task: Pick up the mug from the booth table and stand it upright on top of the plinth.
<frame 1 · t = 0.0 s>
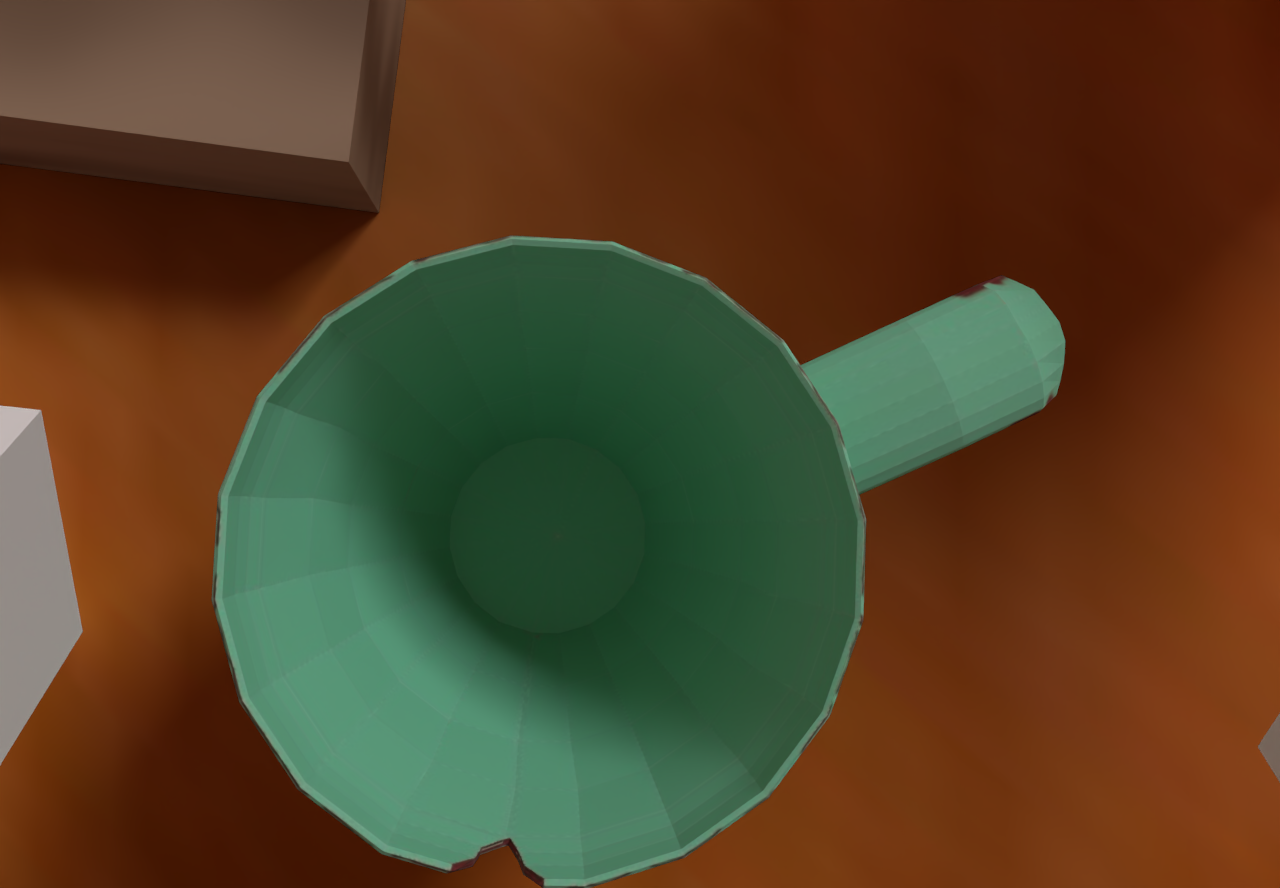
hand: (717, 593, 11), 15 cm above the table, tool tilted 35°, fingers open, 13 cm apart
mug: (638, 492, 27), on the table
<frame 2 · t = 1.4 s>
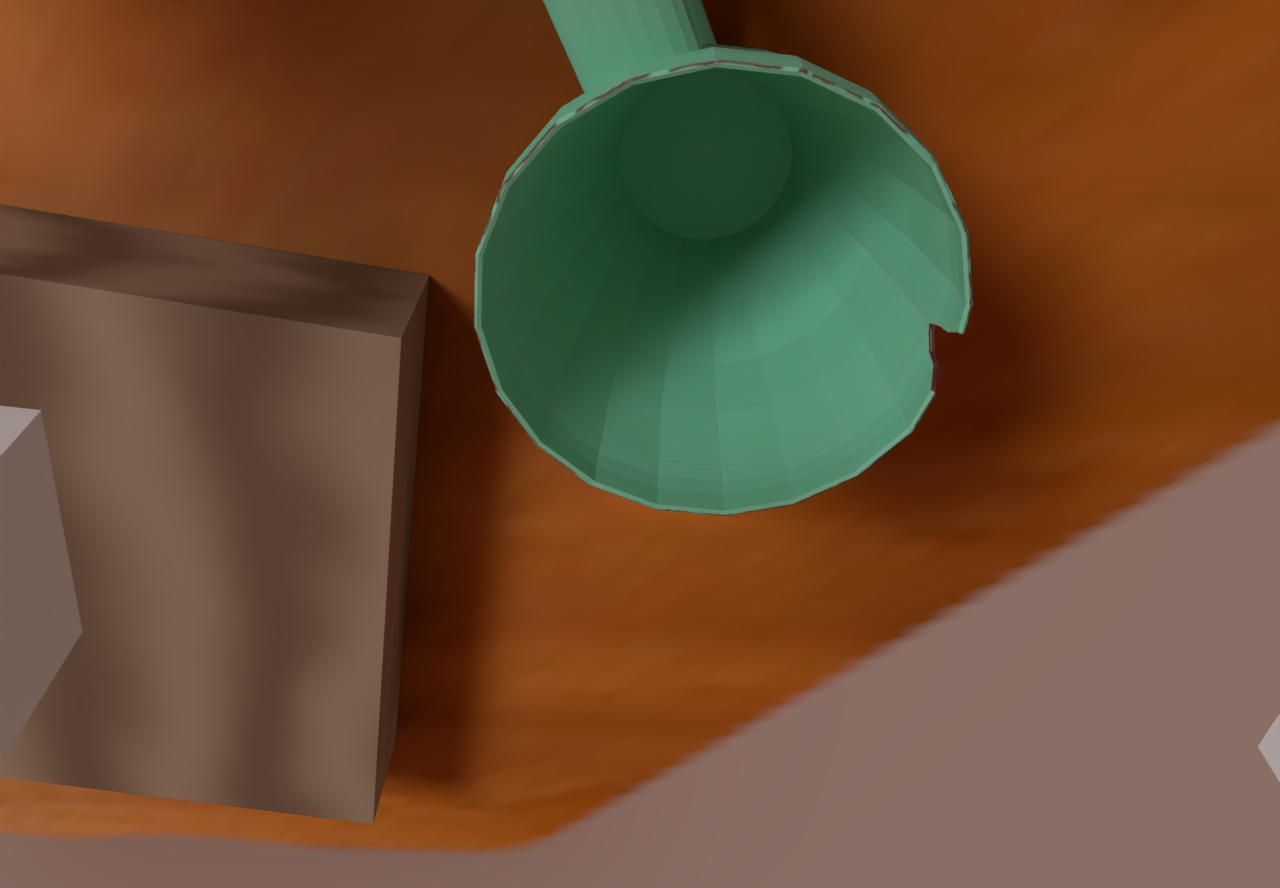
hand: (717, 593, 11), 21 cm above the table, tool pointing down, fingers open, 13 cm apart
mug: (674, 68, 29), on the table
plinth: (112, 497, 36), on the table
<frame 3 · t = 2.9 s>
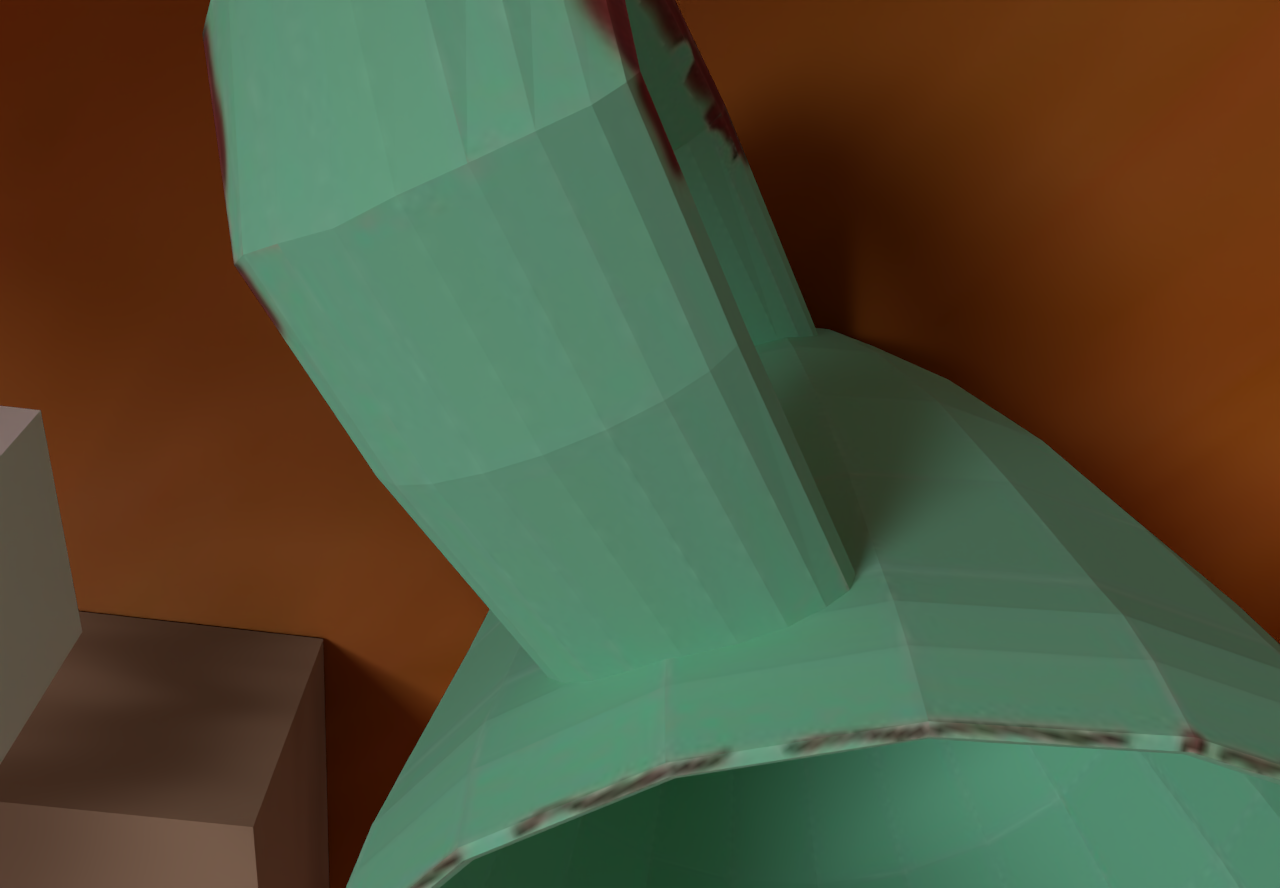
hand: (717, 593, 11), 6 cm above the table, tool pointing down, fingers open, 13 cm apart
mug: (725, 329, 16), on the table
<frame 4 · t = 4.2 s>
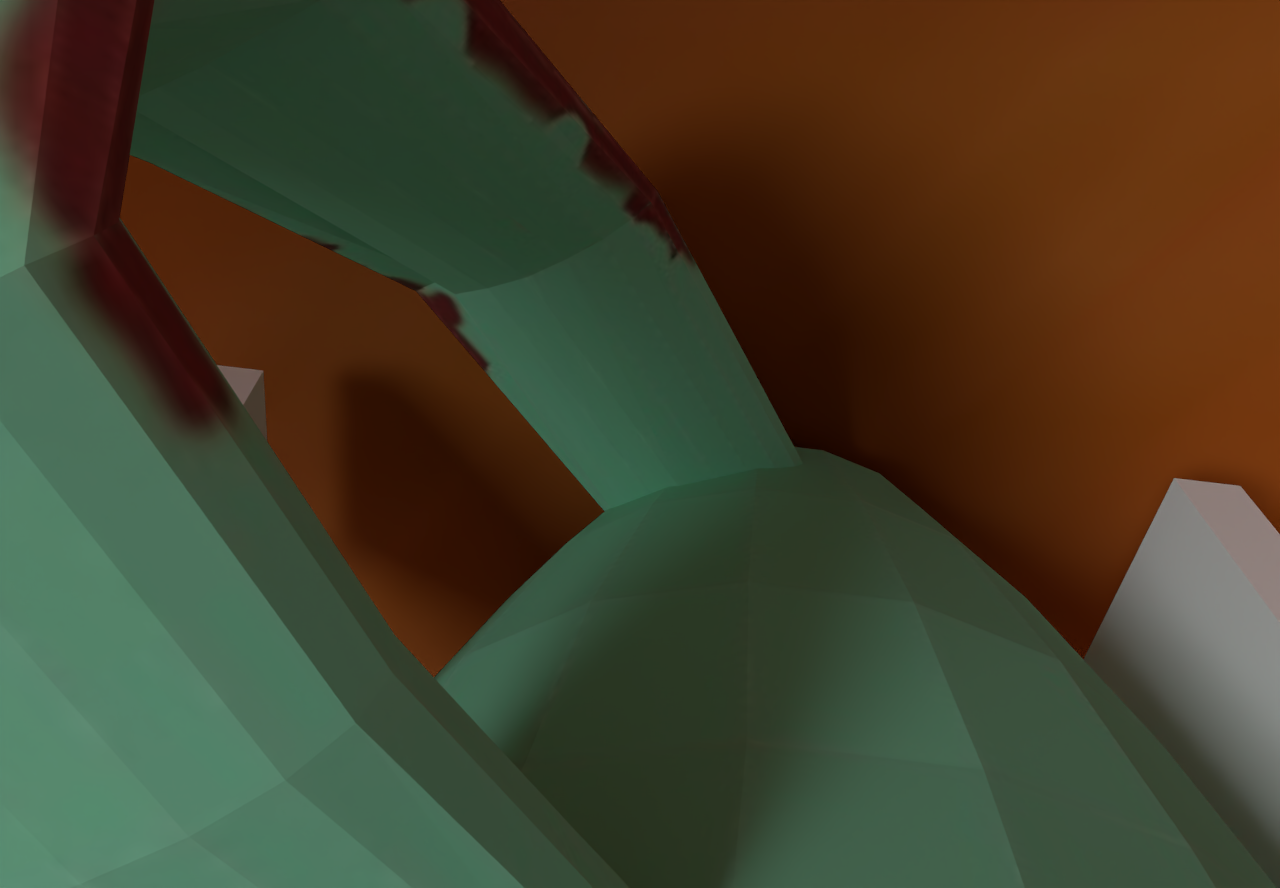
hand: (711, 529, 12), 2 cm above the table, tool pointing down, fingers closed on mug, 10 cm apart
mug: (699, 443, 13), on the table, touching gripper
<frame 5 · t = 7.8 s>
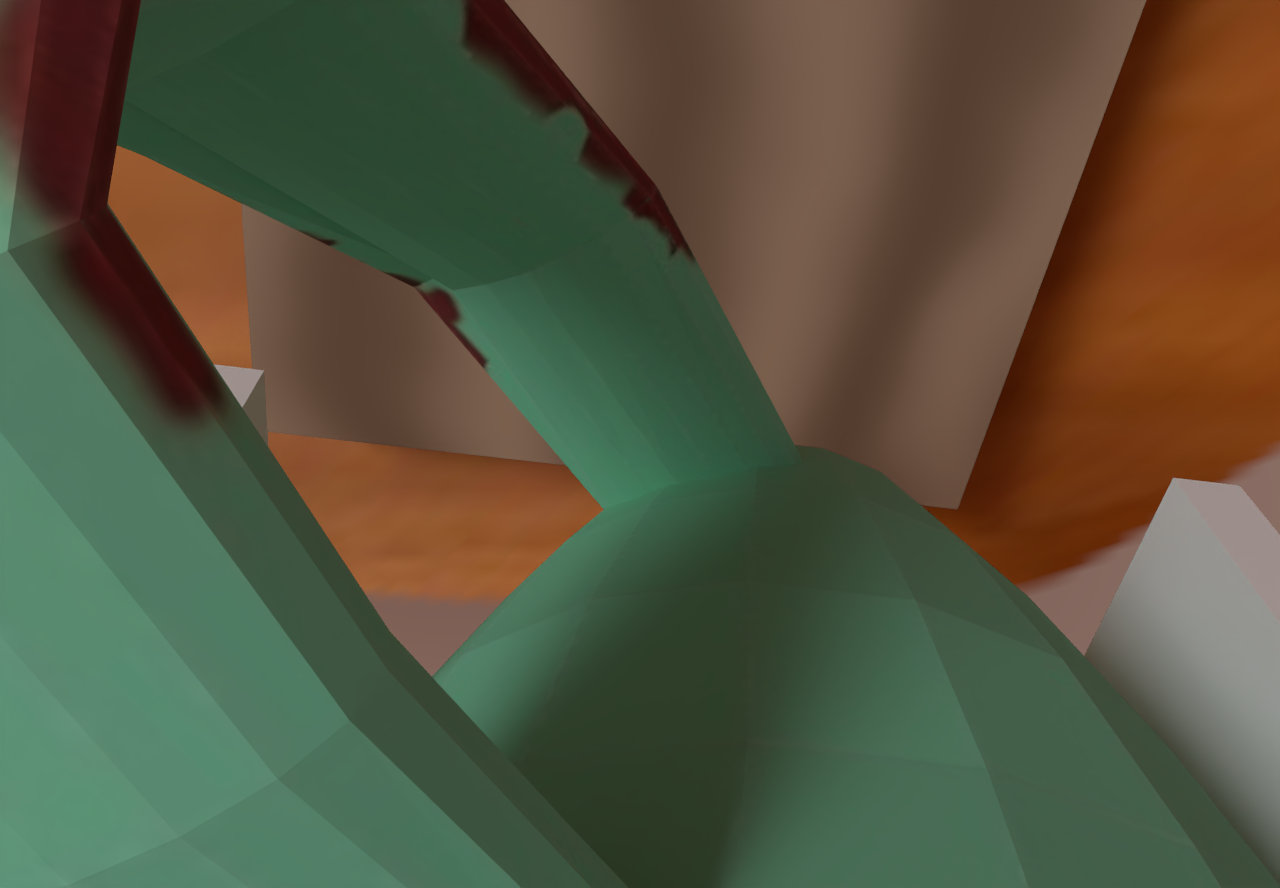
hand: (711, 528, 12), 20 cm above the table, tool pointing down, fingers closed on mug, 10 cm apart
mug: (699, 441, 13), point 18 cm above the table, touching gripper
plinth: (665, 75, 29), on the table
when the fingers open (6 cm above the table, at t = 11.2 s): mug stays where it is, resting on plinth.
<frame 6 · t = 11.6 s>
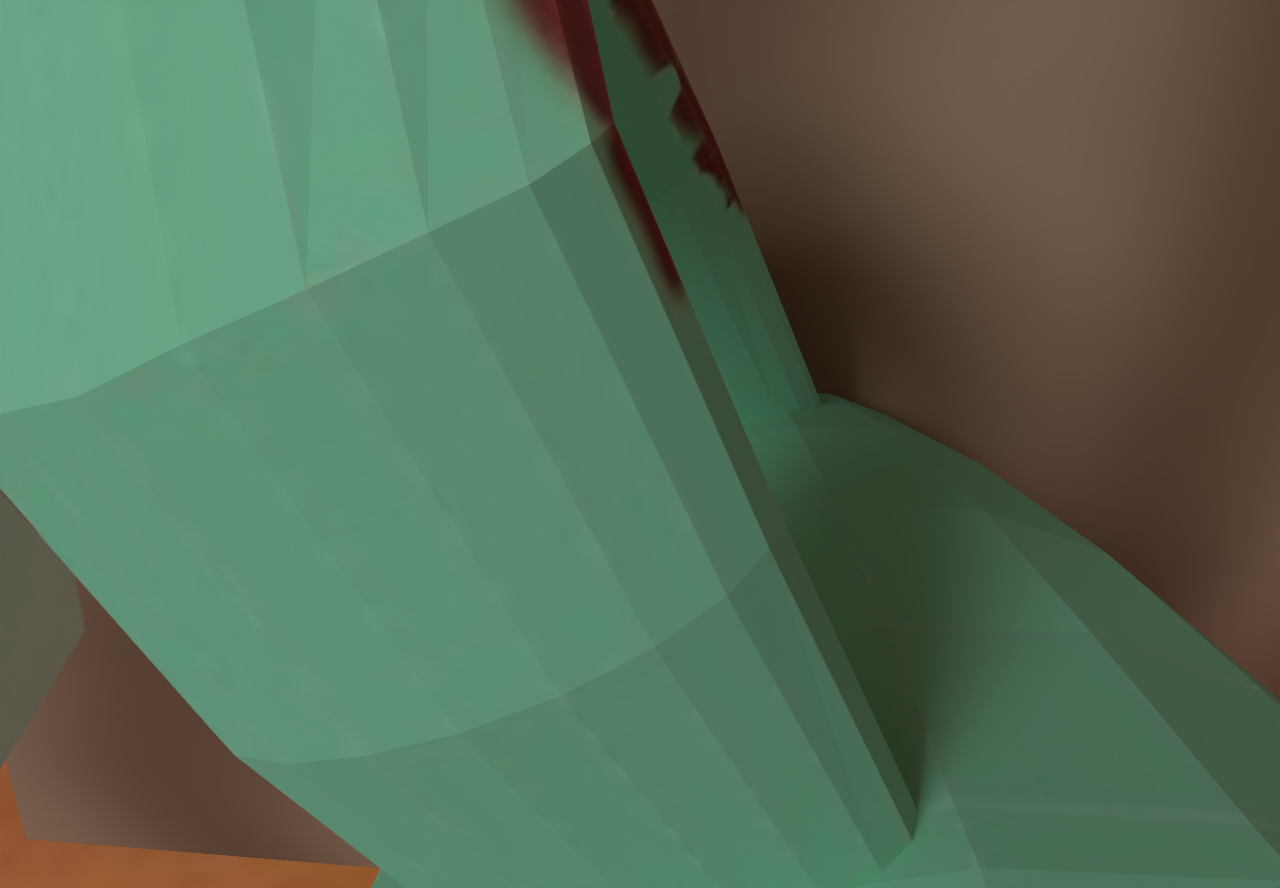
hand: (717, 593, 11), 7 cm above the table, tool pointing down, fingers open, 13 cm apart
mug: (712, 393, 14), point 4 cm above the table, touching plinth
plinth: (687, 283, 17), on the table
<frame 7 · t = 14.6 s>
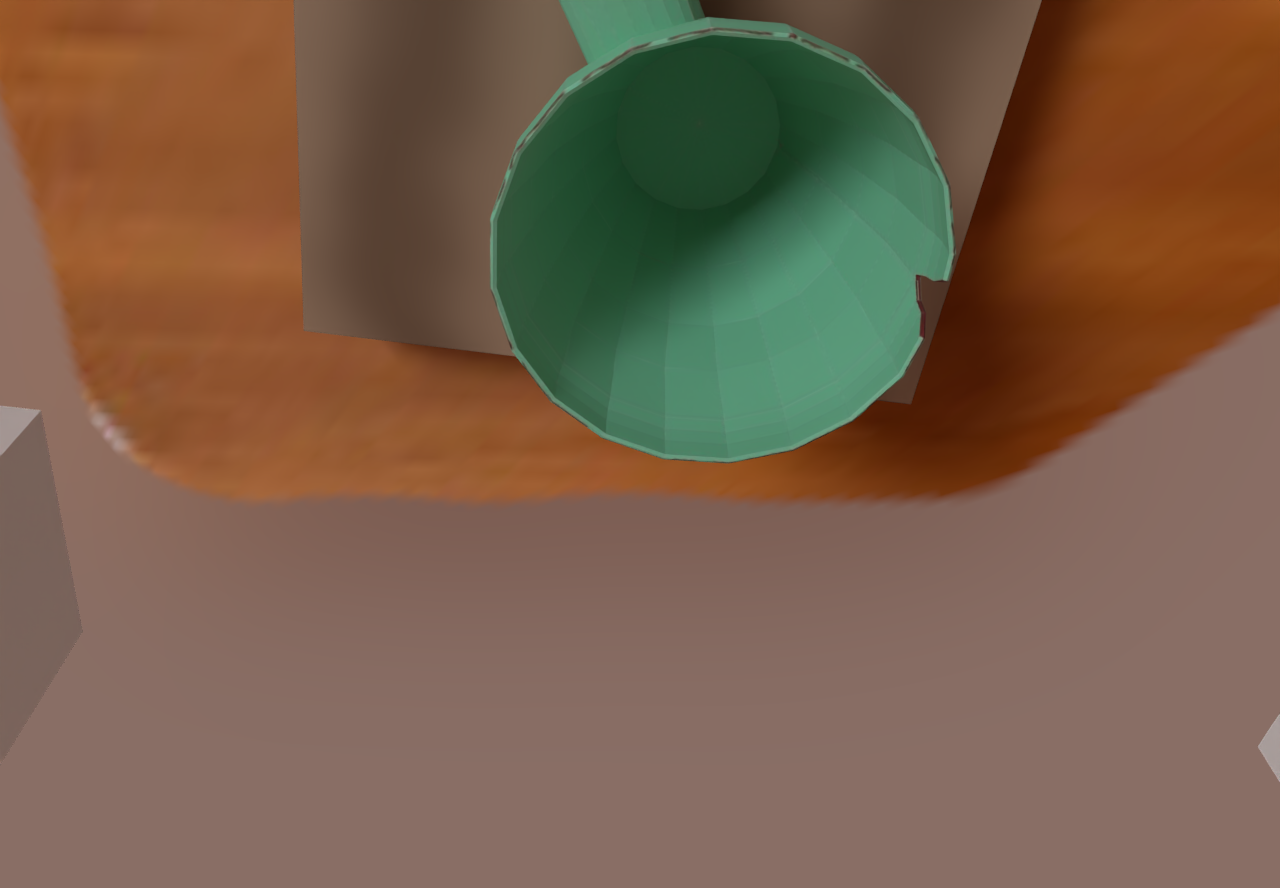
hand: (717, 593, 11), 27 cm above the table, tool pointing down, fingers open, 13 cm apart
mug: (666, 46, 30), point 4 cm above the table, touching plinth
plinth: (657, 23, 33), on the table
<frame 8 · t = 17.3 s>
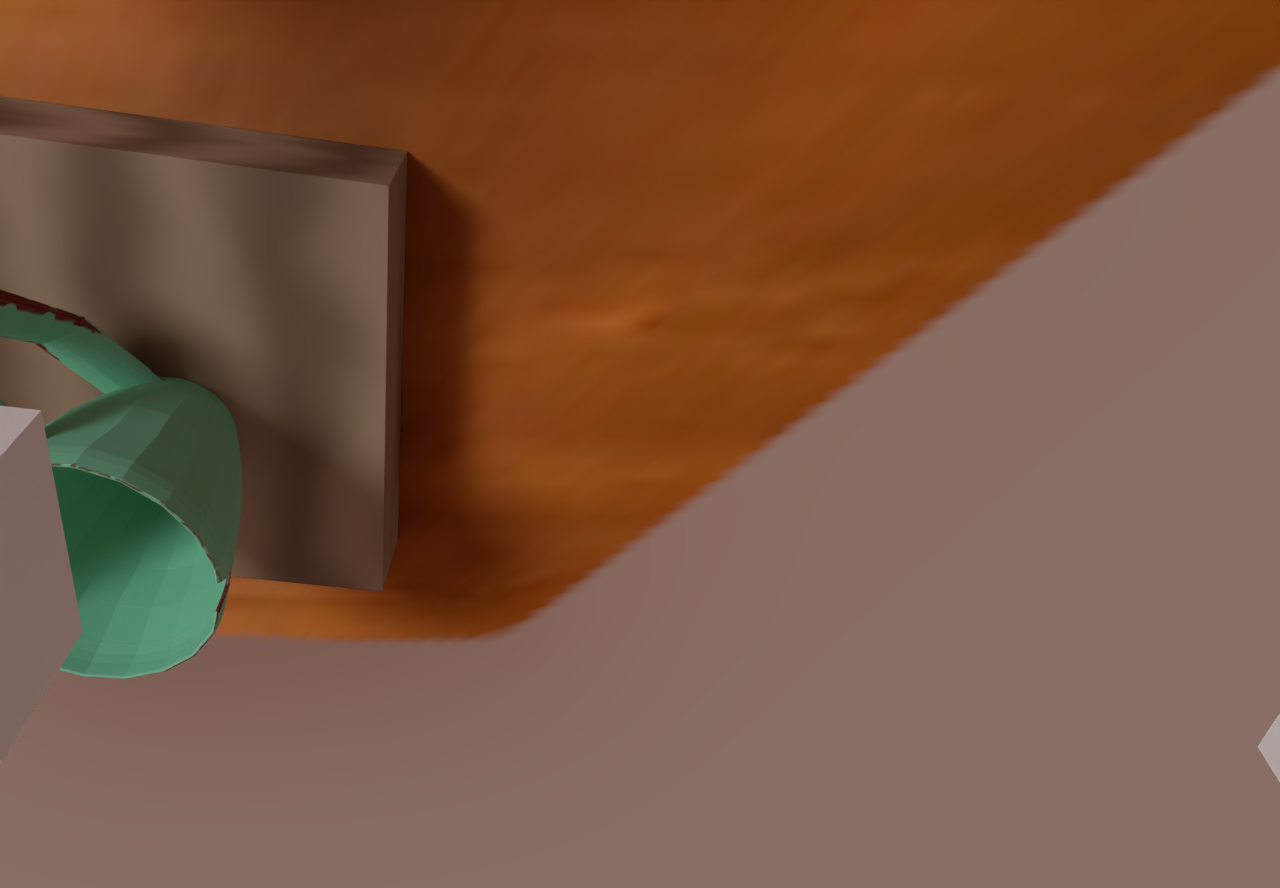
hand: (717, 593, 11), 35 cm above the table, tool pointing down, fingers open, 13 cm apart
mug: (146, 378, 45), point 4 cm above the table, touching plinth
plinth: (176, 339, 48), on the table
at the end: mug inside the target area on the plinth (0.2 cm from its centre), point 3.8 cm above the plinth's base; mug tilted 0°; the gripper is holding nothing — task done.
